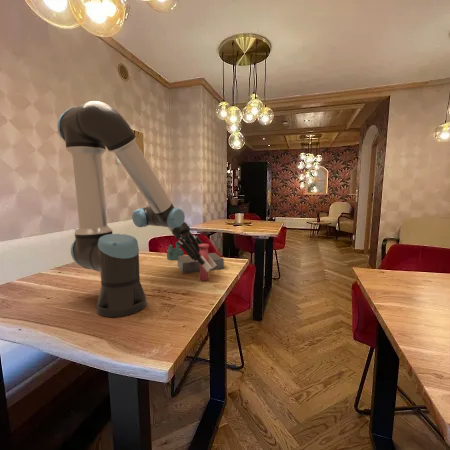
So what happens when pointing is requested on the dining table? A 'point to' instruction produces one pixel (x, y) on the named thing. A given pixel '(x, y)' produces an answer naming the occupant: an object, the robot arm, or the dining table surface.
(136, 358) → the dining table surface
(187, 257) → the socket block
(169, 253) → the green knobbed block
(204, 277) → the pin
